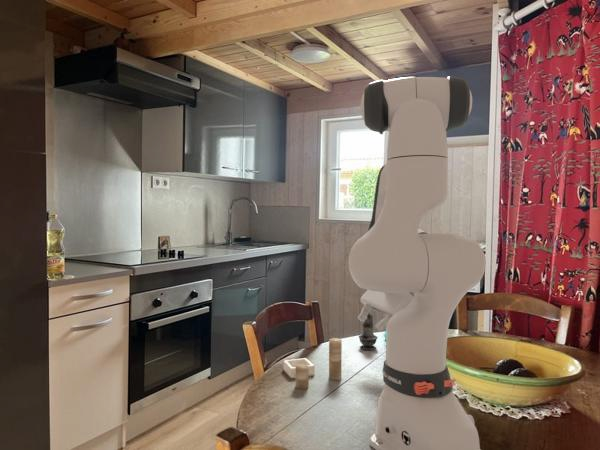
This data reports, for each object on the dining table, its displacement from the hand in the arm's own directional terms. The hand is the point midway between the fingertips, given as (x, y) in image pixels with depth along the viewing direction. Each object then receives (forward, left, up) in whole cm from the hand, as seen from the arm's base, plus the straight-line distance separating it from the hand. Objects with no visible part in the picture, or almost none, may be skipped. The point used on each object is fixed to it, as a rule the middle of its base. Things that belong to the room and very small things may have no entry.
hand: (368, 324), depth 118 cm
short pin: (-3, +20, -13) cm, 24 cm away
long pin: (0, +10, -13) cm, 16 cm away
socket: (+7, +17, -13) cm, 23 cm away
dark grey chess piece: (+19, -10, -13) cm, 26 cm away
